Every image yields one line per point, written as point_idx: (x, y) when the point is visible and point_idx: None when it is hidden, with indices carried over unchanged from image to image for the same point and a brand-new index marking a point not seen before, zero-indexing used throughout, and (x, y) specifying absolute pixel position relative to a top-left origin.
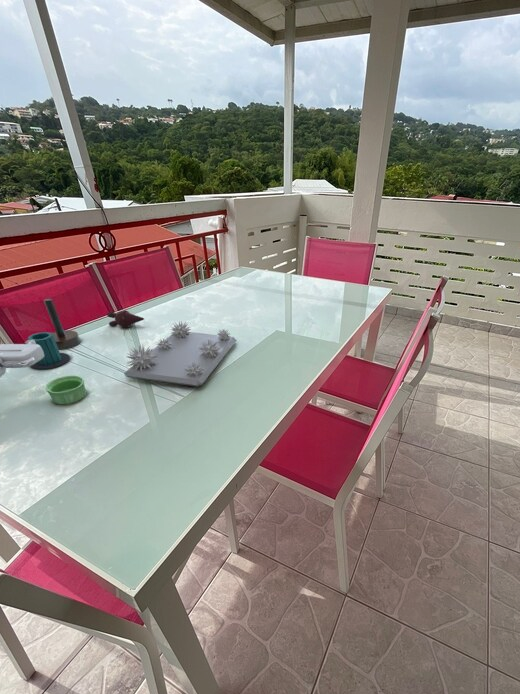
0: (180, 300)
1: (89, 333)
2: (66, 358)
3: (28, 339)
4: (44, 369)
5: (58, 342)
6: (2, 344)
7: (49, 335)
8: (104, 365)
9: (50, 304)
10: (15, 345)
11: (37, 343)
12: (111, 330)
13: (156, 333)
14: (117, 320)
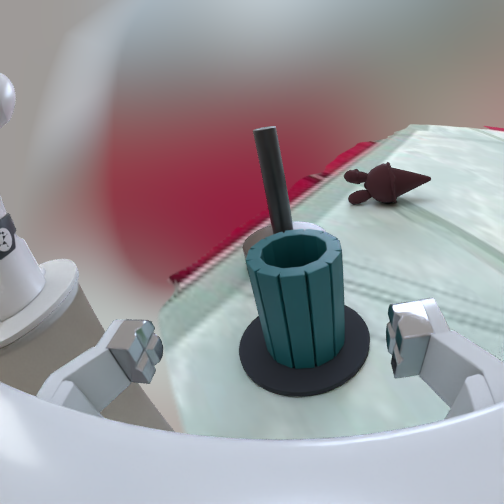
0: (404, 155)
1: (323, 225)
2: (355, 324)
3: (257, 272)
4: (313, 394)
5: None
6: (255, 462)
7: (328, 241)
8: (499, 336)
9: (273, 140)
10: (463, 468)
11: (301, 289)
12: (365, 212)
13: (469, 210)
14: (380, 186)
